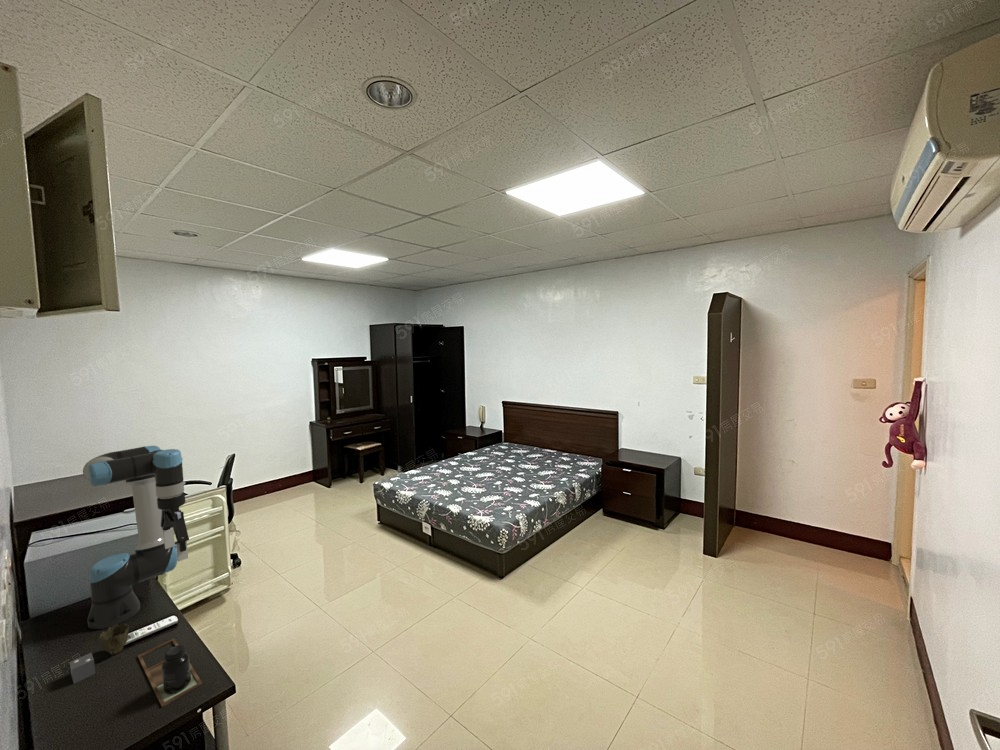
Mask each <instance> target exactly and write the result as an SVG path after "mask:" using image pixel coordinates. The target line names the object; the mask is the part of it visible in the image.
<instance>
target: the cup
mask: <svg viewBox="0 0 1000 750" xmlns="http://www.w3.org/2000/svg"><path fill="white" fill-rule="evenodd" d="M129 626H130V625H129V624H128V623H124V624H122V623H119V624H117V625H114V626H111V627H108V628H107V631H102V632H101V633H100V634H99V640H100V644H101V646H102V649H103V650H104V651H105V652H108V654H109V655H117V654H119V653H121V652H122V651H123V650H124V646H125V645H126V643H127V641H128V638H129V628H130V627H129Z"/></svg>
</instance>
